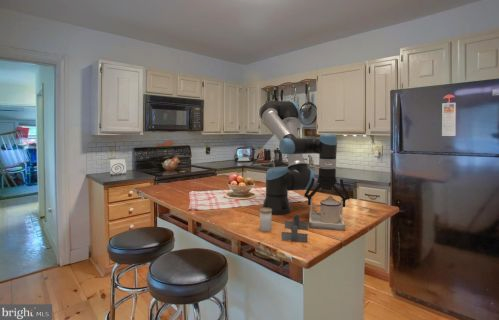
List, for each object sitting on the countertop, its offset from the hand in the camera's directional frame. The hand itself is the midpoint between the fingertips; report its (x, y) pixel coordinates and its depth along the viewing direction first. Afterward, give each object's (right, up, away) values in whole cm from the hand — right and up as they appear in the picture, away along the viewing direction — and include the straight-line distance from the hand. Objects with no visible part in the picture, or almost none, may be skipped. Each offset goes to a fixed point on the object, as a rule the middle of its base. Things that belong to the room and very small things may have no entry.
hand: (326, 213), depth 130 cm
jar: (-29, -6, -8) cm, 30 cm away
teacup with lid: (0, -4, 0) cm, 4 cm away
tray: (0, -5, 0) cm, 5 cm away
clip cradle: (-17, -6, -14) cm, 23 cm away
